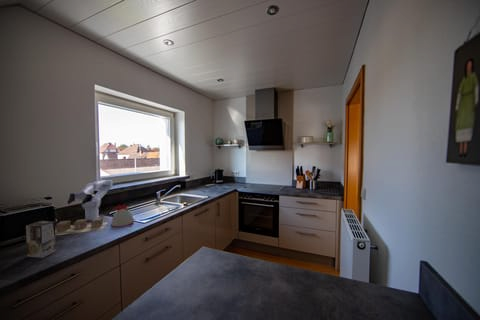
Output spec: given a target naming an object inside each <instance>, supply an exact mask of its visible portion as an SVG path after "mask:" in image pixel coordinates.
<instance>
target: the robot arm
mask: <svg viewBox="0 0 480 320" xmlns="http://www.w3.org/2000/svg"><path fill="white" fill-rule="evenodd" d="M113 185H114V181H113V180H112V179H107V180H105V179H103V180H102V179H99V180H95V181H93V182H91V183H89V182H88V183H86V184H85V186H84V188H83V189H82V190H81V191H80V192H75V193H70V194H68V200H67V204H68V205H69V204H70V205H71V203H73V202H75V201H76V199H78V200H80V201H81V207H82V208H83V210H84V211H85V212H84V213H85V215H84V217H85V218H84V219H87V221H92V220H93V219H94V218H101V216H100V213H99V207H100V205H101V203H102V198H103V197H104V196H105V195H106V194H107V193H108V191H110V190H111V188H113ZM94 191H97V192H96V193H95V194H93V192H94Z"/></svg>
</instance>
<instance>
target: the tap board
mask: <svg viewBox="0 0 480 320" xmlns="http://www.w3.org/2000/svg"><path fill="white" fill-rule="evenodd" d="M109 222H110V221H103V225H102V226H101V227H98V228H91V222H90V223H89V222H87V227H86V228H84V229H80V230H74V224H70V229H68V230H67V231H61V232H56V229H55V236H62V235H70V234H77V233H78V234H79V233H88V232H96V231H97V232H98V231H103V229H104V228H105V227H106V226H107V225H108V223H109Z"/></svg>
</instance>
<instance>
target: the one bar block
mask: <svg viewBox="0 0 480 320" xmlns="http://www.w3.org/2000/svg"><path fill="white" fill-rule="evenodd" d="M87 223H88V220H87V219H85V218H84V219H82V218H81V219H77V220H76V221H74V224H73V225H74V230H80V229H84V228H86V227H87Z"/></svg>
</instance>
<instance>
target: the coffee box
mask: <svg viewBox="0 0 480 320" xmlns="http://www.w3.org/2000/svg"><path fill="white" fill-rule="evenodd" d="M25 230H26V231H25V233H26V234H25V235H26V236H25V237H26V239H25V240H26V257H28V258H29V257H30V258H41V259H43V258H45V257H47V256H49V255H51V254H53V253H55V252H56V249H57V248H56V247H57V246H56V243H57V242H56V241H57V240H56V235H55V230H56V221H51V220H49V221H48V220H38V221H35V222H33V223H30V224H26V225H25Z"/></svg>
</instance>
